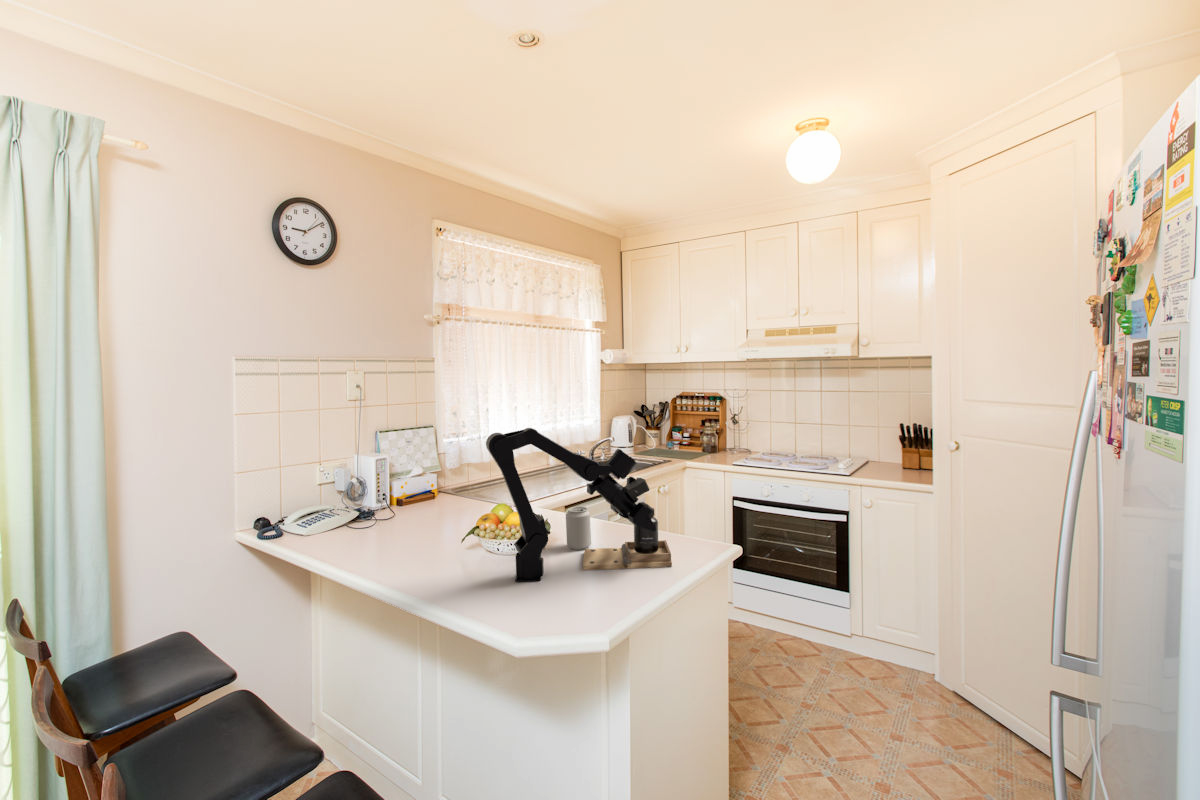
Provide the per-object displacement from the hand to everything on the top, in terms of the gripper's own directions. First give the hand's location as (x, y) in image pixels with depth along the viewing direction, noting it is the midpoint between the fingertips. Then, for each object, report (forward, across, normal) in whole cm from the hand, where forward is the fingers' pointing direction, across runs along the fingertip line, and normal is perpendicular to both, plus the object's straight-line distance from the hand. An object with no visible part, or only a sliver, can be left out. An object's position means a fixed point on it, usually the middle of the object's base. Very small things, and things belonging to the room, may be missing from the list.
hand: (650, 526), depth 150 cm
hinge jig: (+2, +2, +11) cm, 11 cm away
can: (-4, +19, +18) cm, 26 cm away
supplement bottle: (+4, 0, +6) cm, 7 cm away
